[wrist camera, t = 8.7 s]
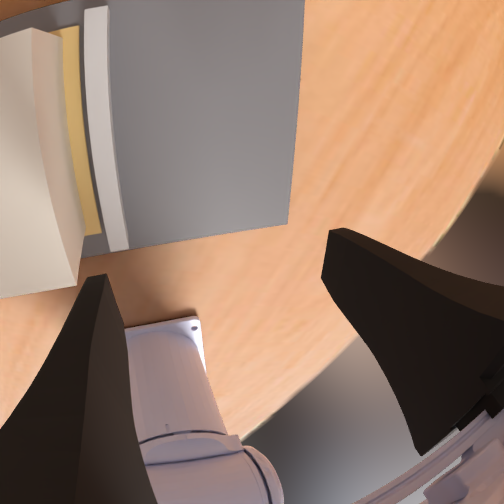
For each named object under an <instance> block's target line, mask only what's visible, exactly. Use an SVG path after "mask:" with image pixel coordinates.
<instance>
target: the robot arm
mask: <svg viewBox="0 0 504 504" xmlns="http://www.w3.org/2000/svg"><path fill="white" fill-rule="evenodd" d="M321 279H322V281H323V283H324V285H325V286H326V288H327V290H328V292H329V294H330V295H331V297H332V299H333V300H334V302H335V303H336V305H337V306H338V307H339V309H340V310H341V311H342V313H343V314H344V315H345V317H346V318H347V319H348V321H349V322H350V323H351V325H352V326H353V327H354V329H355V330H356V331H357V333H358V334H359V335H360V336H361V338H362V339H363V341H364V342H365V343H366V344H367V346H368V347H369V349H370V350H371V352H372V353H373V355H374V356H375V358H376V360H377V361H378V363H379V365H380V367H381V369H382V370H383V372H384V374H385V376H386V377H387V380H388V382H389V383H390V386H391V387H392V390H393V392H394V394H395V396H396V398H397V400H398V403H399V405H400V407H401V409H402V412H403V414H404V416H405V419H406V422H407V425H408V427H409V430H410V433H411V436H412V439H413V443H414V446H415V449H416V450H417V451H418V453H419V454H420V456H423V455H424V454H426V453H427V452H429V451H430V450H431V449H433V448H434V447H435V446H437V445H438V444H439V443H441V442H442V441H443V440H444V439H446V438H447V437H448V436H450V435H451V434H452V433H453V432H454V431H455V430H457V429H459V431H460V432H459V433H458V434H457V435H456V436H454V437H453V438H452V439H451V440H449V441H448V442H447V443H446V444H444V445H443V446H442V447H441V448H439V449H438V450H437V451H435V452H434V453H433V454H431V455H430V456H429V457H427V458H426V459H424V460H423V461H422V462H420V463H419V464H417V465H416V466H414V467H413V468H412V469H410V470H408V471H407V472H405V473H404V474H403V475H401V476H399V477H398V478H396V479H395V480H393V481H391V482H390V483H388V484H386V485H385V486H383V487H381V488H380V489H378V490H376V491H375V492H373V493H371V494H369V495H367V496H366V497H364V498H362V499H360V500H358V501H356V502H354V503H353V504H396V503H398V502H399V501H401V500H402V499H404V498H405V497H407V496H408V495H410V494H411V493H413V492H414V491H416V490H417V489H419V488H420V487H421V486H423V485H424V484H425V483H427V482H428V481H430V480H431V479H432V478H433V477H435V476H436V475H437V474H439V473H440V472H441V471H442V470H444V469H445V468H446V467H447V466H449V465H450V464H451V463H452V462H453V461H455V460H456V459H457V458H458V457H459V456H461V455H462V456H461V457H462V460H461V462H460V463H459V464H458V465H456V466H455V467H453V468H452V469H450V470H449V471H448V472H446V473H445V474H443V475H442V476H441V477H439V478H438V479H437V480H435V481H434V482H433V483H432V484H431V485H430V486H429V487H428V488H426V489H425V490H424V492H423V494H424V495H425V497H426V498H427V499H426V500H424V501H423V502H421V503H420V504H504V286H499V285H494V284H489V283H485V282H481V281H477V280H474V279H470V278H466V277H463V276H460V275H456V274H453V273H451V272H448V271H445V270H442V269H440V268H437V267H434V266H432V265H429V264H427V263H425V262H422V261H420V260H418V259H415V258H413V257H411V256H408V255H406V254H404V253H402V252H400V251H397V250H395V249H393V248H391V247H389V246H387V245H385V244H382V243H380V242H378V241H376V240H374V239H371V238H369V237H367V236H365V235H362V234H360V233H358V232H355V231H352V230H350V229H347V228H339V229H333V230H329V234H328V240H327V246H326V252H325V258H324V264H323V269H322V275H321ZM193 326H195V327H193ZM0 504H284V496H283V491H282V487H281V483H280V481H279V478H278V476H277V474H276V471H275V469H274V468H273V466H272V464H271V463H270V462H269V460H268V459H267V458H266V457H265V456H264V455H263V454H261V453H260V452H259V451H258V450H256V449H255V448H253V447H251V446H242V444H241V442H240V439H239V437H238V435H228V433H227V431H226V428H225V425H224V423H223V420H222V417H221V414H220V412H219V409H218V406H217V403H216V401H215V398H214V395H213V392H212V389H211V386H210V383H209V381H208V378H207V374H206V366H205V358H204V350H203V341H202V333H201V324H200V320H199V317H197V316H190V317H185V318H180V319H175V320H169V321H164V322H159V323H154V324H148V325H143V326H137V327H132V328H126V329H124V323H123V320H122V318H121V315H120V312H119V309H118V306H117V304H116V301H115V298H114V295H113V292H112V289H111V286H110V283H109V280H108V276H107V274H102V275H97V276H92V277H87V279H86V281H85V282H84V284H83V286H82V288H81V291H80V293H79V295H78V297H77V299H76V301H75V303H74V305H73V307H72V309H71V311H70V313H69V315H68V317H67V319H66V321H65V323H64V325H63V327H62V330H61V332H60V333H59V335H58V337H57V339H56V341H55V343H54V345H53V347H52V349H51V351H50V352H49V354H48V356H47V358H46V360H45V362H44V364H43V365H42V367H41V369H40V371H39V372H38V374H37V376H36V377H35V379H34V381H33V382H32V384H31V386H30V387H29V389H28V390H27V392H26V393H25V395H24V396H23V398H22V399H21V400H20V402H19V403H18V405H17V406H16V408H15V409H14V411H13V412H12V414H11V415H10V417H9V418H8V420H7V421H6V422H5V424H4V425H3V426H2V428H1V429H0Z"/></svg>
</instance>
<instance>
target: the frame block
mask: <svg viewBox="0 0 504 504" xmlns="http://www.w3.org/2000/svg"><path fill="white" fill-rule="evenodd" d="M85 229H86V225H85V221H84V216H83V212H82V207H81V203H80V198H79V193H78V188H77V183H76V177H75V172H74V166H73V160H72V153H71V146H70V139H69V131H68V123H67V113H66V103H65V90H64V73H63V38H61V37H59V36H56V35H53V34H50V33H47V32H44V31H41V30H38V29H35V28H32V27H31V28H28V29H25V30H22V31H19V32H16V33H13V34H10V35H7V36H4V37H1V38H0V299H3V298H8V297H14V296H20V295H26V294H31V293H37V292H43V291H49V290H54V289H60V288H66V287H72V286H77V279H78V272H79V265H80V258H81V252H82V246H83V240H84V235H85Z"/></svg>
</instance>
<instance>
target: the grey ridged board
mask: <svg viewBox="0 0 504 504" xmlns="http://www.w3.org/2000/svg"><path fill="white" fill-rule="evenodd" d="M304 6H305V0H69V1H65V2H61V3H57V4H53V5H49V6H45V7H42V8H38V9H35V10H32V11H29V12H25V13H22V14H19V15H16V16H13V17H11V18H8V19H5V20H2V21H0V38H1V37H4V36H7V35H10V34H13V33H16V32H19V31H22V30H25V29H28V28H31V27H32V28H35V29H38V30H41V31H44V32H47V33H50V34H53V35H56V36H59V37H61V38H63V73H64V90H65V103H66V113H67V123H68V131H69V139H70V146H71V153H72V160H73V166H74V172H75V177H76V183H77V188H78V193H79V198H80V203H81V207H82V212H83V216H84V221H85V225H86V229H85V235H84V240H83V246H82V252H81V258H86V257H92V256H97V255H103V254H108V253H114V252H119V251H125V250H131V249H136V248H142V247H148V246H154V245H160V244H166V243H172V242H178V241H184V240H190V239H196V238H202V237H208V236H214V235H221V234H227V233H233V232H240V231H246V230H252V229H259V228H266V227H272V226H279V225H286V224H287V223H288V213H289V203H290V193H291V183H292V173H293V162H294V151H295V139H296V127H297V115H298V102H299V89H300V75H301V60H302V43H303V26H304ZM81 258H80V259H81Z"/></svg>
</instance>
